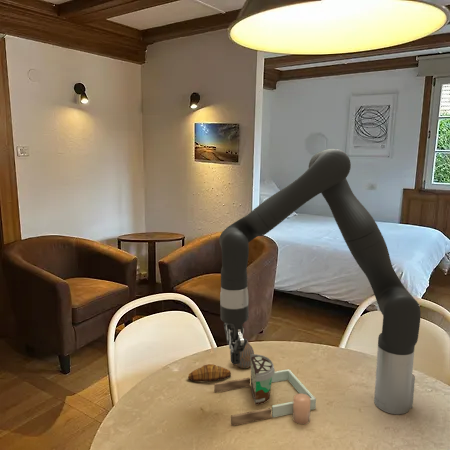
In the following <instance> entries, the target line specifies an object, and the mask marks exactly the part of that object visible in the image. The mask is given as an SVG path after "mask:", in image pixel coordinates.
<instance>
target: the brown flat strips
mask: <svg viewBox="0 0 450 450" xmlns="http://www.w3.org/2000/svg"><path fill="white" fill-rule="evenodd" d="M213 385H214V387H213V388H214V391H213V392H214V393H222V392H226V391H232V390H233V391H234V390H237V389H244V388H249V387H250V388H251V377H244V378H238V379H232V380H227V381H222V382H221V381H220V382H215V383H214V384H213ZM271 418H272V407H267V408H261V409H256V410H252V411H246V412H245V411H244V412H241V413H236V414H232V415H230V426H231V427H232V426H237V425H238V426H239V425H242V424H243V425H244V424H247V423H253V422H257V421H263V420H268V419H271Z"/></svg>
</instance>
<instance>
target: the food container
mask: <svg viewBox="0 0 450 450" xmlns="http://www.w3.org/2000/svg"><path fill="white" fill-rule="evenodd" d="M275 372H276V371H275V366H274V363H273V361H272V360H271V359H270V358H269V357H267V356H265V355H261V354H257V353H254V354H251V366H250V388H251V389H250V390H251V393H252V397H253V401H254V402H253V403H254V405H255V406H257V405H263V404H265V403H266V402H268V401H269V400H270V398H271V391H272V383H271V381H272V376H273V375H274V373H275Z"/></svg>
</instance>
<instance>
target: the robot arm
mask: <svg viewBox="0 0 450 450" xmlns="http://www.w3.org/2000/svg"><path fill="white" fill-rule="evenodd" d="M351 164H352V163H351V159H350V157H349V155H348V154H347V152H344V150H341V149H337V148H327V149H324V150H321V151H319V152H317V153H314V155H313V156H312V157H311V159H310V160H309V163H308V168H307V170H306V171H305V172H304V173H302V174H301V175H300V176H299V177H298V178H296V180H294V181H292V182H291V183H290V184H288V185H287V186H285V187H284V188H282V189H279V190H278V191H277V192H276V193H274V194H273V195H271V196H269V197H268V198H267V199H265V200H264V201H262V203H260V204H259V205H257V206H256V207H255V208H254V209H253V210H251V211H250V212H249V213H248V214H246V215H245V216H243V217H242V218H240V219H238V220H236V221H234V222H232V223H231V224H229V226H227V227H226V228H225V229H223V230H222V232H221V233H220V235H219V239H218V240H219V241H218V242H219V247H220V248H221V265H222V266H221V269H220V292H219V293H220V294H219V299H220V300H219V301H220V302H219V303H220V309H219V312H220V320H221V321H222V322H223V328H224V333H225V338H226V344H227V345H228V349H229V350H230V351H229V352H230V362H231V364H232V365H236V364H239V363H240V352H243V350H244V348H245V346H246V343H247V340H248V339H247V338H246V337H245V338H244V334H245V327H244V326H243V324H245V322H247V321H248V320H249V314H250V313H249V310H250V309H249V290H248V262H249V254H250V253H249V250H250V249H249V248H250V247H249V243H250V242H252V241H253V240H254V239H255V238H257V237H262V236H265V235H267V234H268V233H269V232H271V231H273V230H274V229H275V228H276V227H277V226H278V225H279V224H281V223H282V222H284V220H286V219H288V218H289V216H291V215H292V214H293V213H294V212H296V211H297V210H298V209H300V208H301V207H302V206H303V205H305V204H306V203H307V202H309V201H310V200H312V199H313V198H315V197H316V196H318V195H320V194H321V195H322V197H323V198H324V200H325V201H326V203H327V205H328V207H329V209H330V211H331V213H332V216H333V218H334V220H335V221H334V222H335V223H336V225H337V227H338V229H339V231H340V234H341V236H342V238H343V240H344V242H345V244H346V246H347V248H348V249H349V252H350V253H351V256H352V257H353V259H354V260H355V262H356V263H357V265H358V266H359V268H360V269H361V270H362V272H363V273H364V275H365V277H366V278H367V280H368V282H369V284H370V287H371V290H372V292H373V294H374V298H375V300H376V303H377V305H378V309H379V311H380V313H381V314H382V328H381V333H379V335H378V338H377V339H378V340H377V352H376V353H377V354H376V365H375V366H376V369H375V384H374V399H373V401H374V405H375V406H376V407H377V408H378V409H379V410H381V411H383V412H385V413H388V414H392V415H404V414H406V413H408V412H409V411H410V409H412V408H414V407H413V405H414V397H415V396H414V394H415V383H416V382H415V380H416V375H415V374H413V372H414V371H413V369H414V358H415V348H416V347H415V346H416V345H417V343H418V340H419V335H420V334H419V333H420V325H421V314H422V313H421V312H422V311H421V307H420V304H419V302H418V301H417V299H415V297H414V296H413V295H412V294H411V293H410V292H409V291H408V290H407V288H406V287H405V286H404V284H403V283H402V280H400V277H399V276H398V274H397V273H396V271H395V269H394V267H393V264H392V261H391V256H390V252H389V250H388V246H387V243H386V240H385V238H384V236H383V234H382V231H381V230H380V228H379V226H378V224H377V222H376V221H375V219H374V217H373V216H372V215H371V213H370V212H369V211H368V209H367V208H366V207H365V206H364V205H363V204H362V203H361V201H360V200H359V199H358V198H357V197H356V195H355V194H354V192H353V190H352V189H351V187H350V185H349V181H348V180H347V177H348V176H349V174H350V171H351V169H352V168H351V167H352V166H351Z"/></svg>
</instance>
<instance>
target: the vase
mask: <svg viewBox="0 0 450 450" xmlns="http://www.w3.org/2000/svg"><path fill="white" fill-rule="evenodd" d="M251 354H255V351H254V348H253V347H252V345H251V344H250V343H249V341H248V339H247V343H246V346H245V348H244V350H243V352H240V363H239V364H235V365H236V366H237V367H238V368H241V369H248V368H251Z"/></svg>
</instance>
